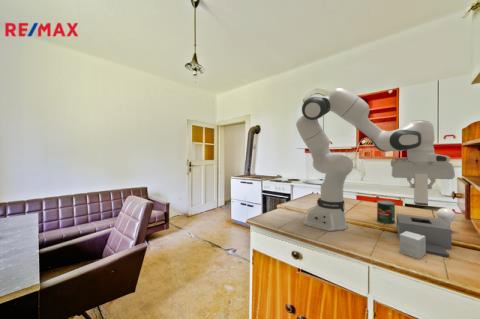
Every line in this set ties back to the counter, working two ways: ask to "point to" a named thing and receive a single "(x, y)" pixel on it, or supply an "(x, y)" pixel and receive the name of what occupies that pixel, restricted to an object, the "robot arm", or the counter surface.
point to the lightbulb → (446, 215)
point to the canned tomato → (386, 212)
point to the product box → (412, 244)
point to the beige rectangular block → (421, 189)
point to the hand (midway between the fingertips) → (420, 188)
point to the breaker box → (426, 229)
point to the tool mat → (436, 250)
